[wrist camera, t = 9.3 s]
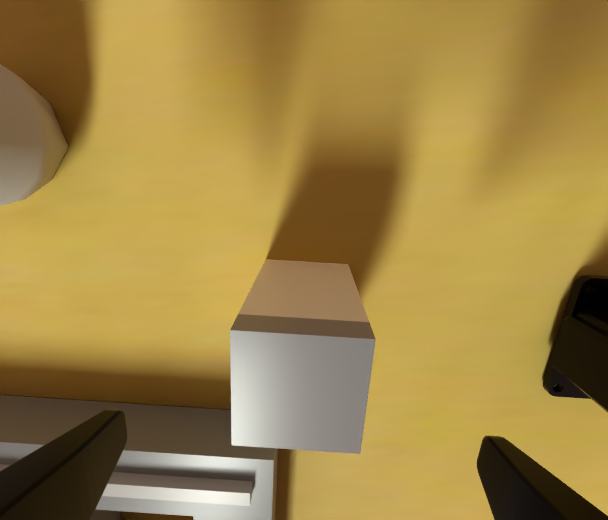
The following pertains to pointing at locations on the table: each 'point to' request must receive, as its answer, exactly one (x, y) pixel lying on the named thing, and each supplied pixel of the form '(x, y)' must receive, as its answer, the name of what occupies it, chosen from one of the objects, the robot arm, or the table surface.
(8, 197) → the salt shaker
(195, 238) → the table surface
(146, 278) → the table surface
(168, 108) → the table surface
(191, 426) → the socket block
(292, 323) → the plug
